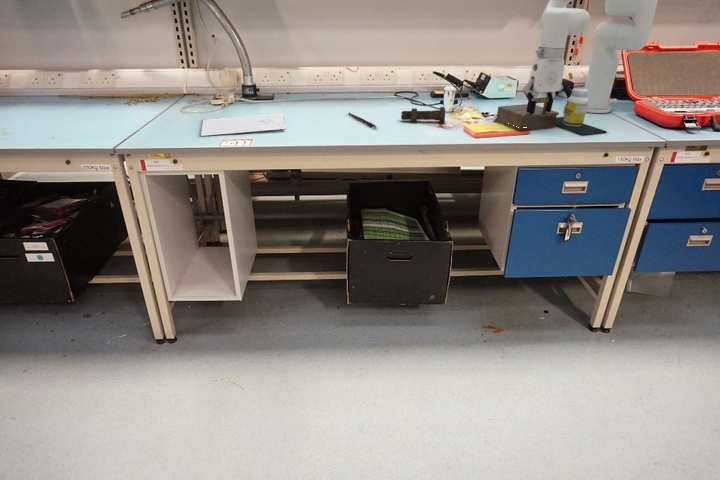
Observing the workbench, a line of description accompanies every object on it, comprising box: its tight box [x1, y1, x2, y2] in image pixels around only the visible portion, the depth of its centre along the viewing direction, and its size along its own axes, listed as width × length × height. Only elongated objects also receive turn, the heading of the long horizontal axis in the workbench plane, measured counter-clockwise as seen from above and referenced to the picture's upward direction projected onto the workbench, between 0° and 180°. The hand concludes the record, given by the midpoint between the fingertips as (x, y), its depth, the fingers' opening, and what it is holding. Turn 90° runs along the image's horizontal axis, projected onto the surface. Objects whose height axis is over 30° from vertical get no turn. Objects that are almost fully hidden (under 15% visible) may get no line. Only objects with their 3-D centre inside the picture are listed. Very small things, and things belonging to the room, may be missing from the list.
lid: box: [497, 96, 560, 118], centre depth 153 cm, size 14×14×6 cm
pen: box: [348, 112, 377, 129], centre depth 157 cm, size 1×1×23 cm
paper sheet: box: [200, 112, 286, 137], centre depth 152 cm, size 24×29×1 cm
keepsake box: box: [495, 108, 558, 132], centre depth 155 cm, size 13×14×4 cm
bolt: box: [400, 106, 446, 125], centre depth 157 cm, size 6×5×15 cm
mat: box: [554, 116, 607, 137], centre depth 154 cm, size 10×20×1 cm, turn 21°
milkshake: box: [442, 85, 459, 113], centre depth 170 cm, size 4×5×10 cm
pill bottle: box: [563, 87, 588, 127], centre depth 151 cm, size 6×6×12 cm
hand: (538, 111), depth 149 cm, fingers closed on lid, 6 cm apart
